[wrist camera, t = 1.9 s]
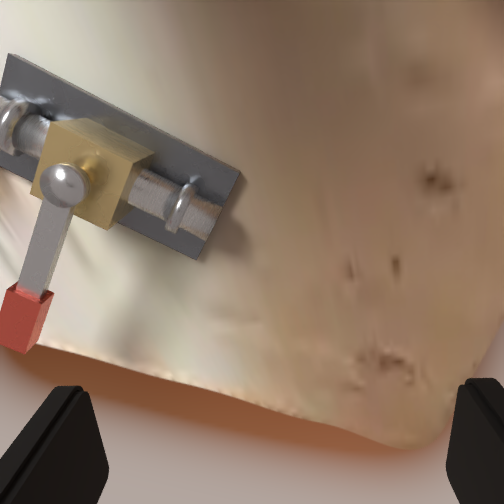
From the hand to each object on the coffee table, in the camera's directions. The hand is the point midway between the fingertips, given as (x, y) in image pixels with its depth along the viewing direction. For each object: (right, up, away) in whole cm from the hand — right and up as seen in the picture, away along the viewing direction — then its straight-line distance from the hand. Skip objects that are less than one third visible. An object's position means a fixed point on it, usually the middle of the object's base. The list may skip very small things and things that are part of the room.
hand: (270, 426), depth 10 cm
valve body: (-12, +12, +24) cm, 29 cm away
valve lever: (-16, +4, +19) cm, 25 cm away
